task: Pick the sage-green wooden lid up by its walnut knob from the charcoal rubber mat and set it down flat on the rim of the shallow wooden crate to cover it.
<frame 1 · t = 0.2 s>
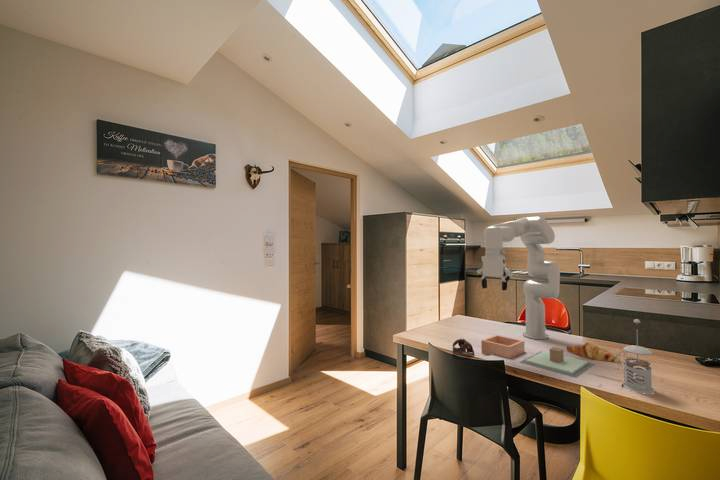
hand: (494, 289, 160), 31 cm above the table, tool pointing down, fingers open, 9 cm apart
french press: (634, 387, 124), on the table
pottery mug: (463, 354, 162), on the table
croissant: (592, 359, 154), on the table
mat: (556, 365, 146), on the table
shallow wooden crate: (502, 353, 163), on the table
lid: (556, 363, 146), point 1 cm above the table, touching mat
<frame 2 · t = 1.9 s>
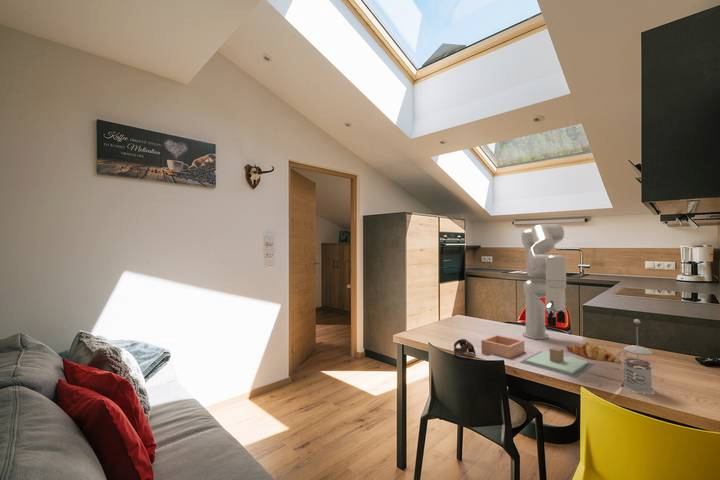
hand: (556, 324, 146), 18 cm above the table, tool pointing down, fingers open, 9 cm apart
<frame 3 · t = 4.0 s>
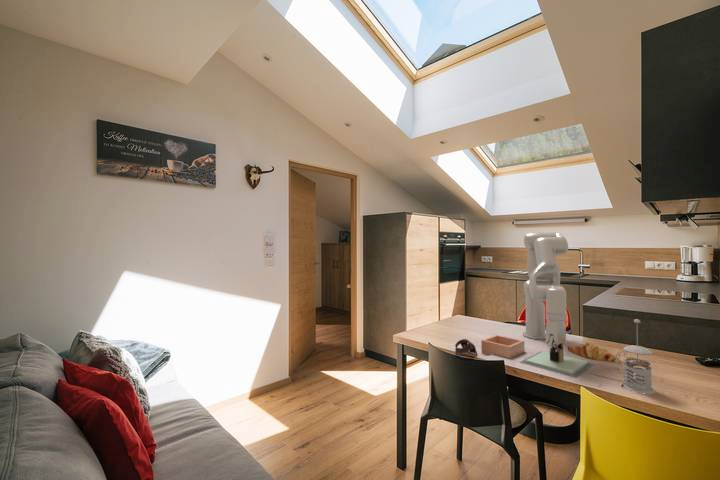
hand: (556, 358, 146), 3 cm above the table, tool pointing down, fingers closed on lid, 4 cm apart
lid: (556, 363, 146), point 1 cm above the table, touching gripper, mat
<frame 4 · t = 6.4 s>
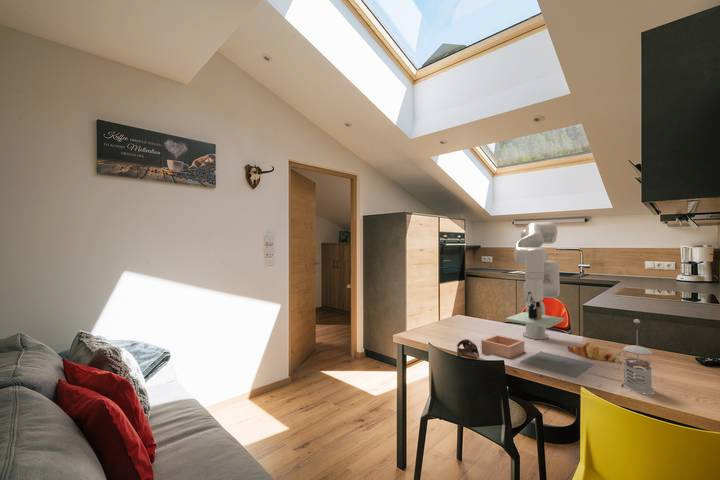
hand: (534, 316, 152), 20 cm above the table, tool pointing down, fingers closed on lid, 4 cm apart
lid: (535, 320, 152), point 18 cm above the table, touching gripper
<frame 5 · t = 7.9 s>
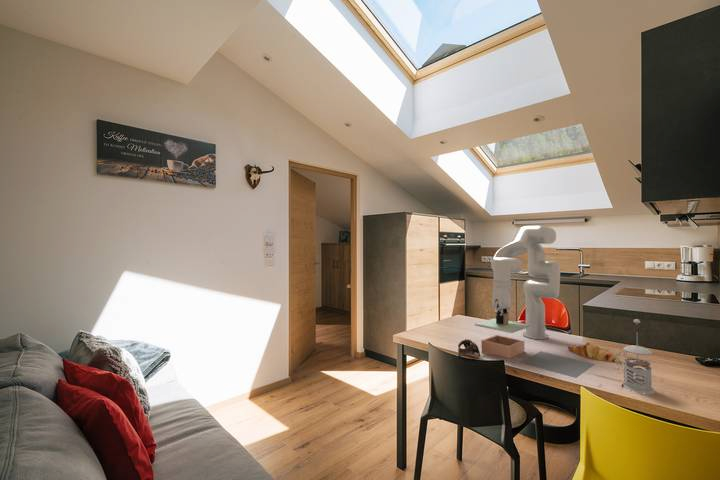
hand: (502, 322, 162), 15 cm above the table, tool pointing down, fingers closed on lid, 4 cm apart
lid: (502, 326, 162), point 13 cm above the table, touching gripper
when the fingers open (9 cm above the table, at t = 9.1 s): lid drops 1 cm, resting on shallow wooden crate.
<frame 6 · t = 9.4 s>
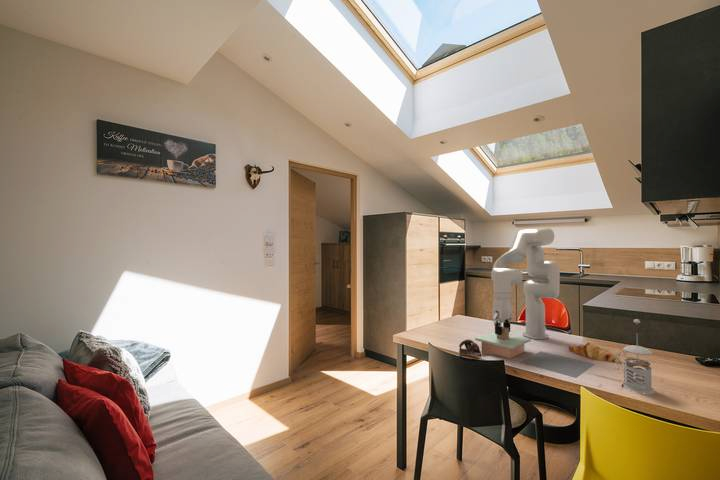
hand: (502, 332, 163), 10 cm above the table, tool pointing down, fingers open, 7 cm apart
lid: (502, 340, 163), point 6 cm above the table, touching shallow wooden crate
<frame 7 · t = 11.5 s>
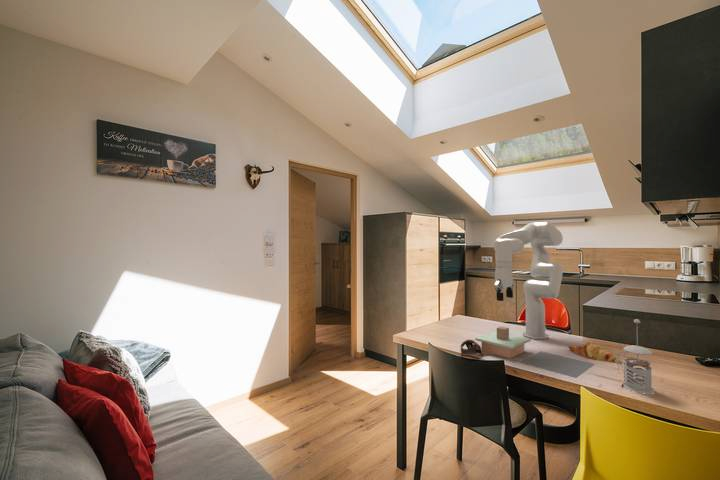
hand: (504, 299, 169), 25 cm above the table, tool pointing down, fingers open, 9 cm apart
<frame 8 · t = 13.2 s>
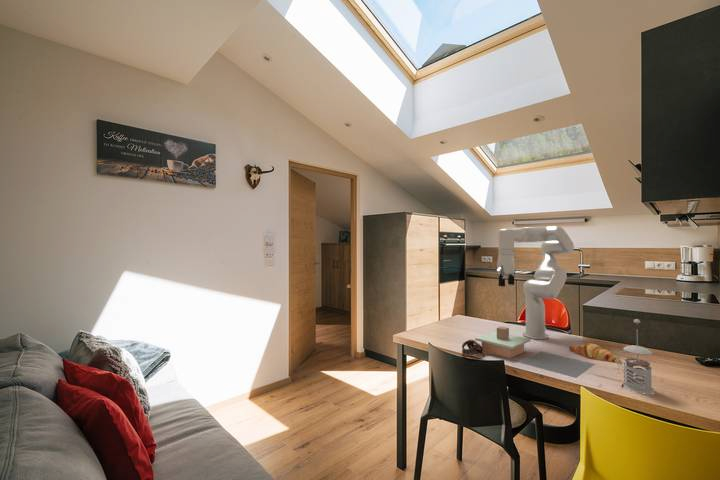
hand: (506, 285, 177), 30 cm above the table, tool pointing down, fingers open, 9 cm apart
at the end: lid 0.1 cm from the shallow wooden crate (horizontally); lid point 6.0 cm above the table; lid tilted 0° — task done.
